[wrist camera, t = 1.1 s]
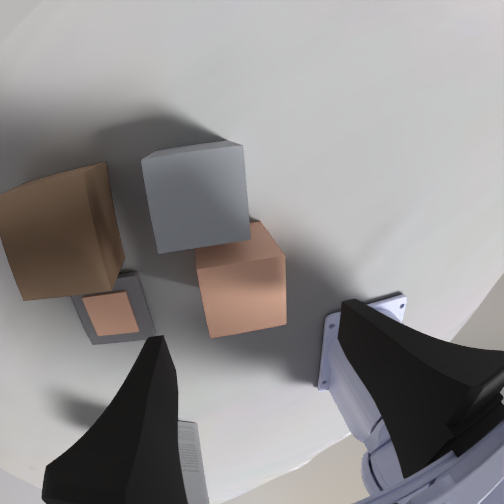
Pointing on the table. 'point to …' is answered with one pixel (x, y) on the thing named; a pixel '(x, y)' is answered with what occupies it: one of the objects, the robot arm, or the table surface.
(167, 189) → the slate block
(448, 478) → the robot arm
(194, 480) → the skincare box
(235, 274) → the terracotta block
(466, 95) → the table surface
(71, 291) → the walnut block
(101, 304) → the tile
